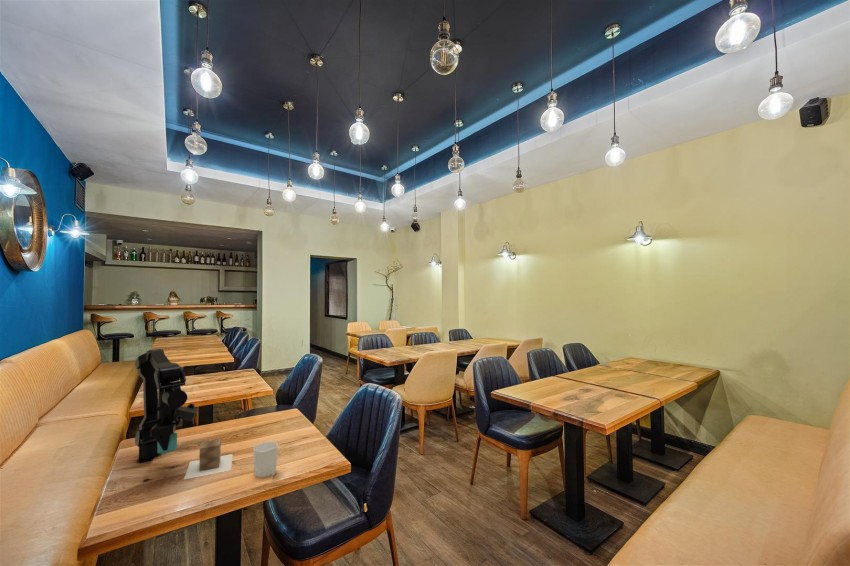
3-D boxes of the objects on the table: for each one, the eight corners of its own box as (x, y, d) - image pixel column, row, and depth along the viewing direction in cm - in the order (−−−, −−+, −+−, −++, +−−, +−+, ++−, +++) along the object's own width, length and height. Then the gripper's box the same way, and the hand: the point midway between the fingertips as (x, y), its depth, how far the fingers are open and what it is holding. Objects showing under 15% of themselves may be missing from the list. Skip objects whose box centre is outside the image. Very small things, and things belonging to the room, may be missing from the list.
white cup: (270, 467, 128) (271, 439, 128) (281, 474, 123) (281, 445, 123) (248, 475, 122) (249, 447, 122) (259, 483, 117) (259, 453, 117)
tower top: (199, 459, 123) (199, 448, 123) (201, 452, 128) (202, 442, 128) (219, 456, 126) (219, 445, 126) (220, 449, 131) (220, 439, 131)
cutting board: (183, 482, 117) (183, 479, 117) (190, 464, 130) (190, 461, 130) (230, 472, 124) (230, 470, 124) (232, 456, 136) (233, 453, 136)
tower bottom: (199, 471, 123) (199, 459, 123) (201, 463, 128) (201, 452, 128) (218, 467, 125) (219, 456, 126) (220, 460, 131) (220, 449, 131)
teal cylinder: (155, 454, 117) (155, 440, 118) (159, 448, 122) (159, 434, 123) (175, 451, 120) (175, 437, 120) (178, 445, 125) (178, 431, 125)
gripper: (191, 406, 117) (190, 453, 116) (199, 392, 134) (198, 433, 133) (150, 411, 112) (149, 460, 111) (163, 396, 129) (162, 438, 128)
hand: (167, 446), depth 121 cm, fingers closed on teal cylinder, 5 cm apart
